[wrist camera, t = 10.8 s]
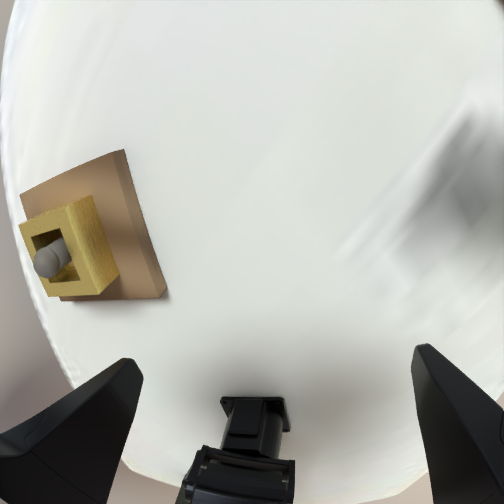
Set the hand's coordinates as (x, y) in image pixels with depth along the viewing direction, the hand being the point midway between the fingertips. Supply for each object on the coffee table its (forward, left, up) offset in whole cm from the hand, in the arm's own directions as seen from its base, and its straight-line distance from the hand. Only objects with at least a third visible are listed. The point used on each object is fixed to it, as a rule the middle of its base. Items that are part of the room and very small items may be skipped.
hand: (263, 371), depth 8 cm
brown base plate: (+2, +16, -12) cm, 20 cm away
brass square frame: (+2, +16, -10) cm, 19 cm away
